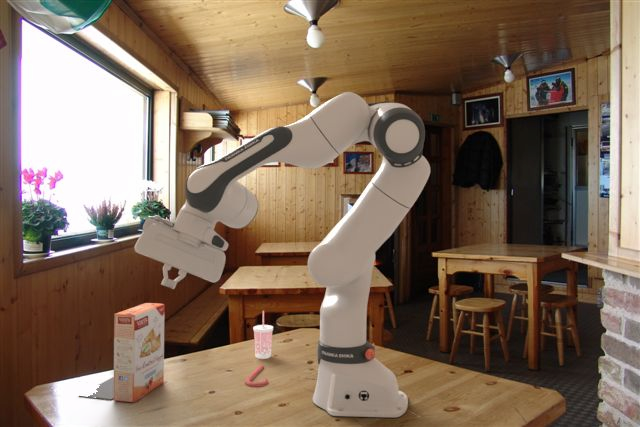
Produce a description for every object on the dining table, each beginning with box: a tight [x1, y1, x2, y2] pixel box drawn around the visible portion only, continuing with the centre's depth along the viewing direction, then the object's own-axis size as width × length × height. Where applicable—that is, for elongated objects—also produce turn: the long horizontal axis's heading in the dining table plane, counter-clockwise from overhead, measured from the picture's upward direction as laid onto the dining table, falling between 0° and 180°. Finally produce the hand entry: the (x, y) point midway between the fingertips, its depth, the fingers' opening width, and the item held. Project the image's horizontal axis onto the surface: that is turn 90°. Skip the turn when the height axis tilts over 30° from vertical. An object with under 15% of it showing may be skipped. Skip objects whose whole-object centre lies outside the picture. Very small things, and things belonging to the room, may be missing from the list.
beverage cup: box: [252, 310, 274, 360], centre depth 153 cm, size 6×6×14 cm
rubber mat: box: [88, 376, 114, 401], centre depth 126 cm, size 9×13×1 cm
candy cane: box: [244, 364, 269, 388], centre depth 135 cm, size 6×15×2 cm, turn 169°
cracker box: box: [113, 302, 166, 403], centre depth 124 cm, size 14×6×21 cm, turn 168°
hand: (167, 287), depth 112 cm, fingers closed
